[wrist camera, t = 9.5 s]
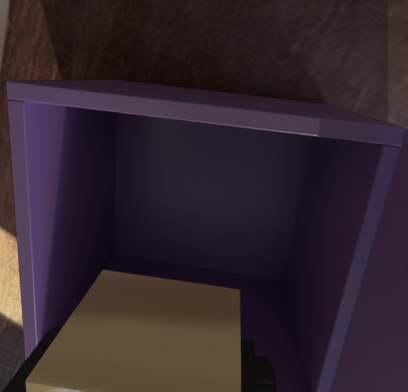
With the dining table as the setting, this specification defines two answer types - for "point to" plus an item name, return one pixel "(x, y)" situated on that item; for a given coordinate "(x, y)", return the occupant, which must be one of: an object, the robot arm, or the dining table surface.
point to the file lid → (381, 301)
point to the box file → (200, 206)
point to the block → (146, 339)
